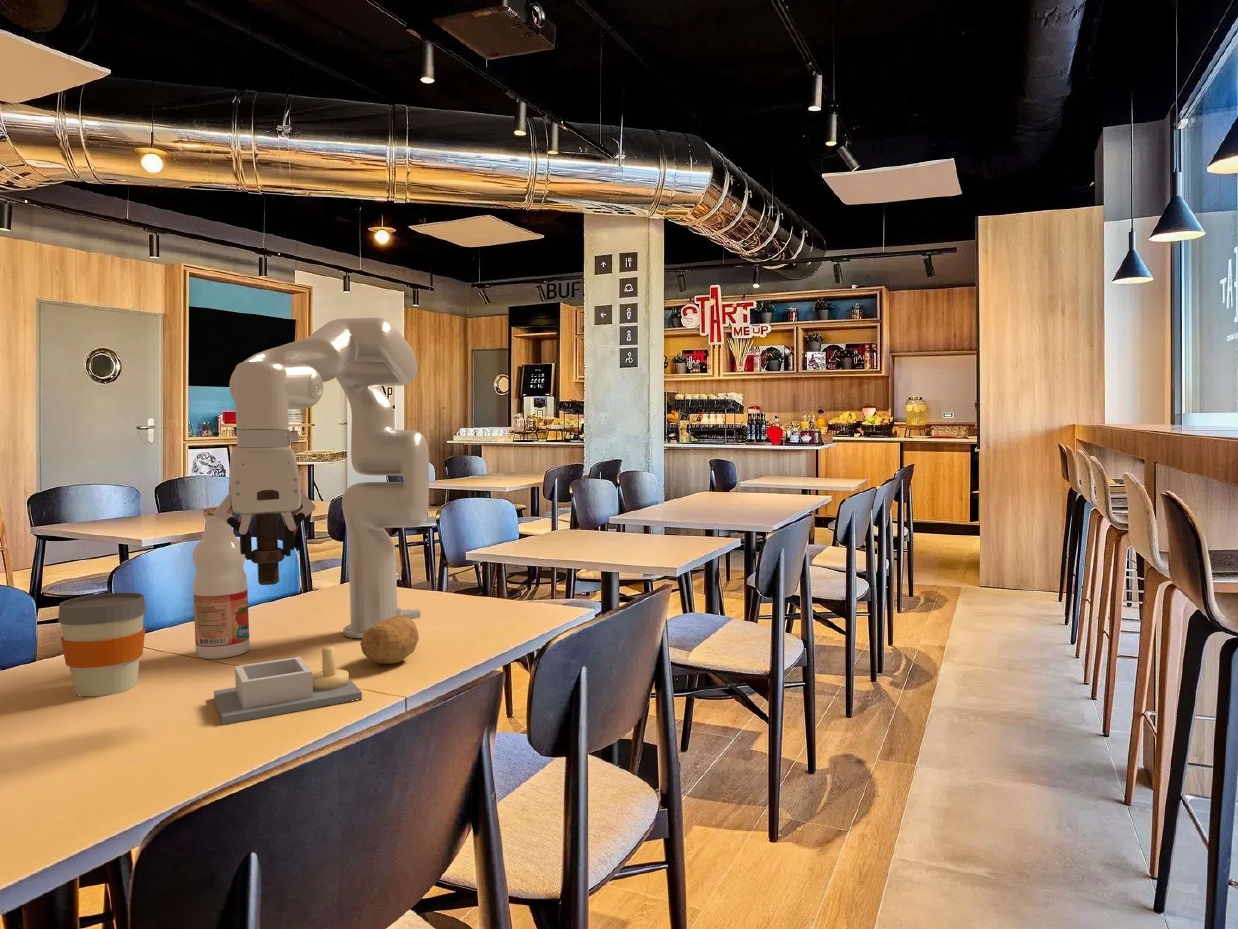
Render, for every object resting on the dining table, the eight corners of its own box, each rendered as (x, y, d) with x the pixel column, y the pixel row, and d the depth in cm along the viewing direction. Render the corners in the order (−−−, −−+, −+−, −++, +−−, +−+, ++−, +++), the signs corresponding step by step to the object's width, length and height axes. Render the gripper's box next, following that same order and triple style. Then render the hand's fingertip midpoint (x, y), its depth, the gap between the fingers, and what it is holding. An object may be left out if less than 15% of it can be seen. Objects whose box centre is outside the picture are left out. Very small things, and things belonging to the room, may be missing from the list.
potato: (430, 651, 160) (429, 610, 159) (403, 673, 146) (402, 628, 145) (381, 650, 161) (379, 609, 160) (350, 672, 147) (349, 627, 146)
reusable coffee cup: (85, 705, 131) (80, 611, 130) (46, 692, 138) (42, 603, 137) (164, 683, 142) (160, 596, 141) (125, 673, 148) (121, 589, 148)
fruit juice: (193, 651, 162) (187, 508, 161) (245, 644, 167) (240, 505, 166) (199, 663, 154) (193, 512, 153) (253, 654, 159) (248, 508, 158)
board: (342, 677, 144) (340, 636, 143) (362, 699, 132) (360, 654, 131) (214, 698, 134) (212, 654, 133) (222, 724, 122) (221, 676, 121)
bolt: (258, 580, 134) (255, 487, 133) (291, 579, 134) (287, 487, 133) (245, 588, 128) (241, 490, 127) (279, 587, 128) (275, 490, 127)
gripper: (315, 439, 137) (319, 549, 138) (200, 442, 129) (205, 559, 130) (325, 440, 131) (329, 555, 132) (204, 443, 122) (209, 566, 123)
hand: (267, 555), depth 131 cm, fingers closed on bolt, 5 cm apart
